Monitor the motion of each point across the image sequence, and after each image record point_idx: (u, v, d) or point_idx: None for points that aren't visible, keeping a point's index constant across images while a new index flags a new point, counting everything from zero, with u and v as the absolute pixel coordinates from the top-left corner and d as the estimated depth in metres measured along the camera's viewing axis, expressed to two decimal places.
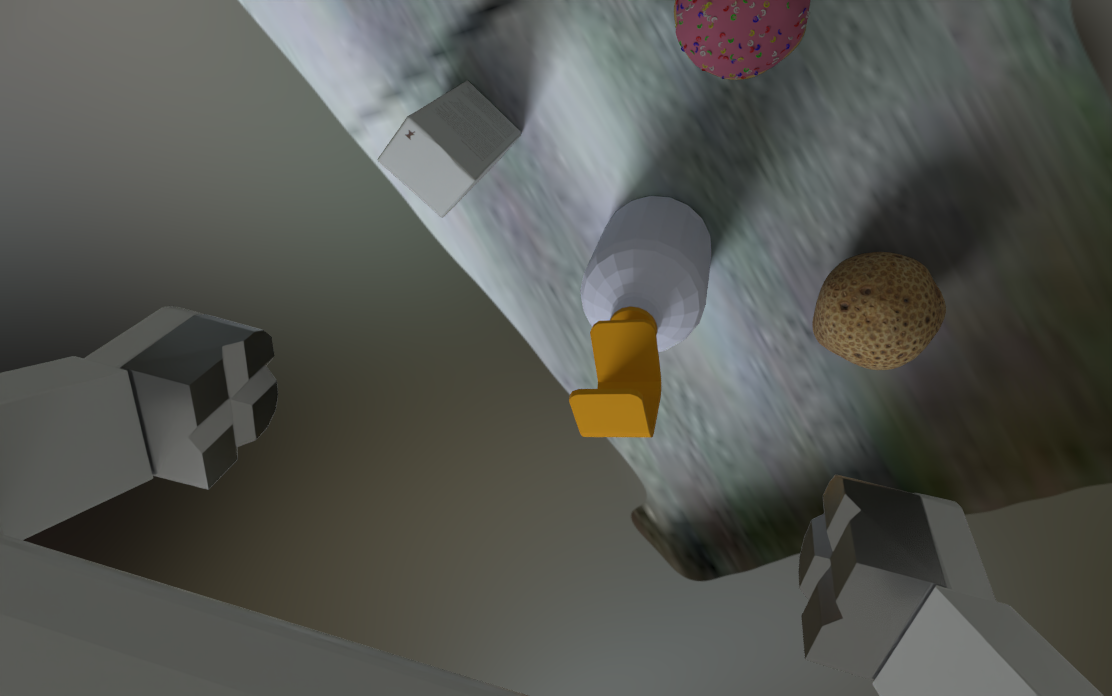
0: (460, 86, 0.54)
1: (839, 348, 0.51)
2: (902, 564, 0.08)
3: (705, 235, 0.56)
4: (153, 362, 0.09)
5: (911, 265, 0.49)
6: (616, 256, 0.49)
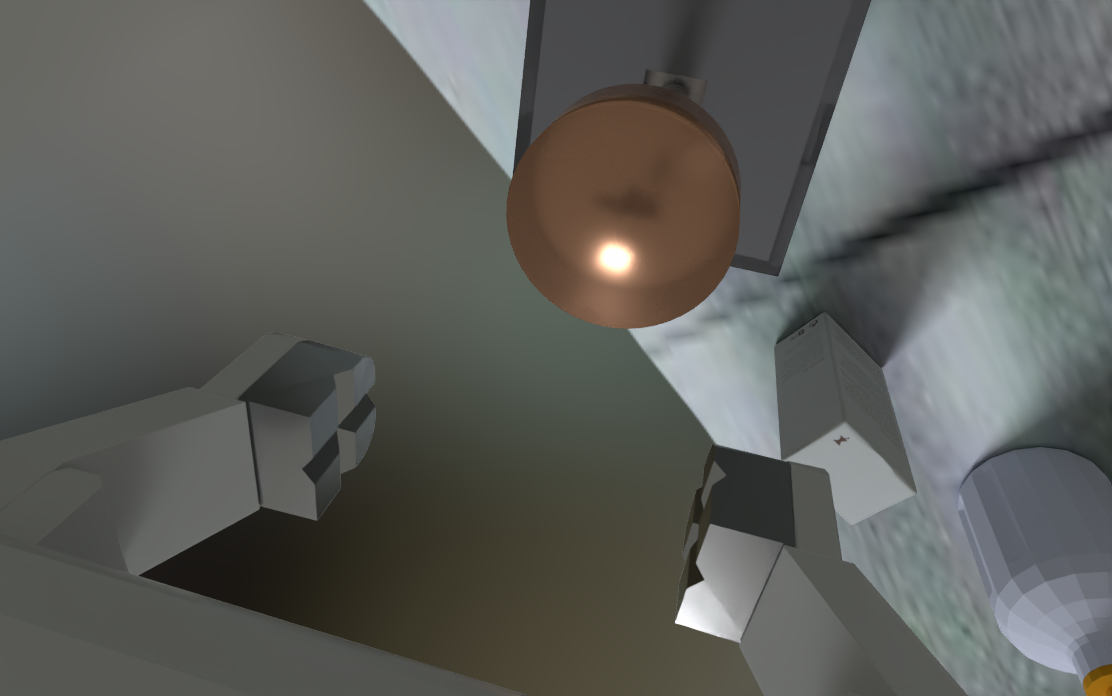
0: (829, 327, 0.43)
1: None
2: (756, 525, 0.08)
3: None
4: (269, 392, 0.09)
5: None
6: (1080, 577, 0.38)
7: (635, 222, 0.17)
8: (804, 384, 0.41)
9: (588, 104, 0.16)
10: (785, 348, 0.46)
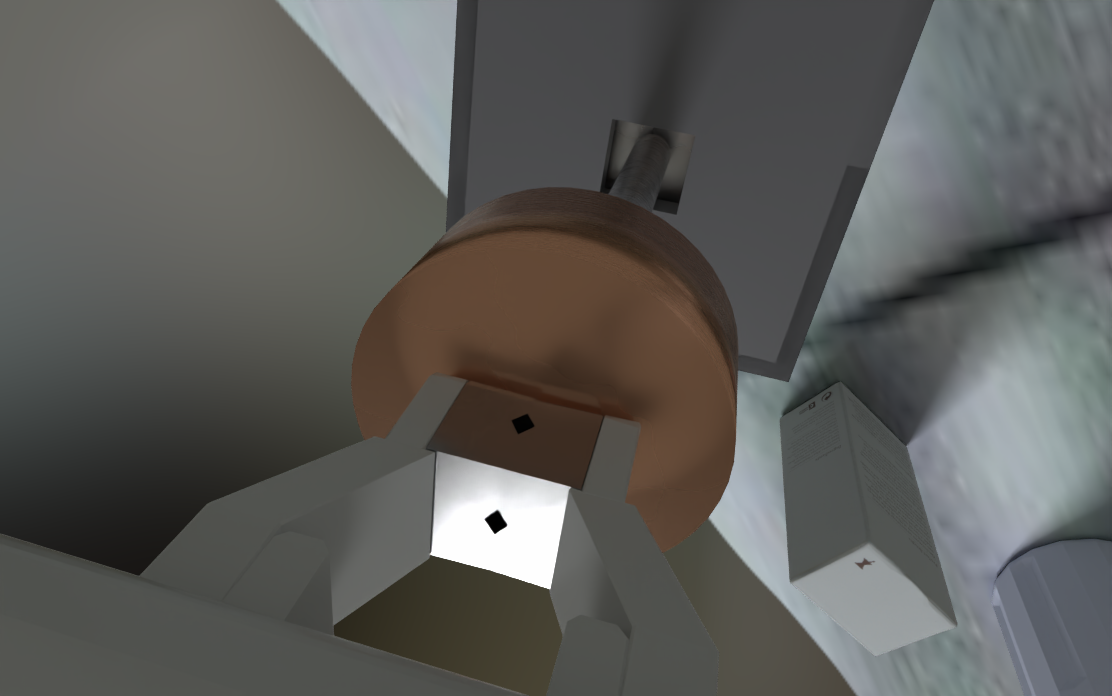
0: (846, 403, 0.36)
1: None
2: (548, 471, 0.08)
3: None
4: (454, 440, 0.08)
5: None
6: None
7: None
8: (817, 478, 0.34)
9: (474, 238, 0.09)
10: (792, 424, 0.39)
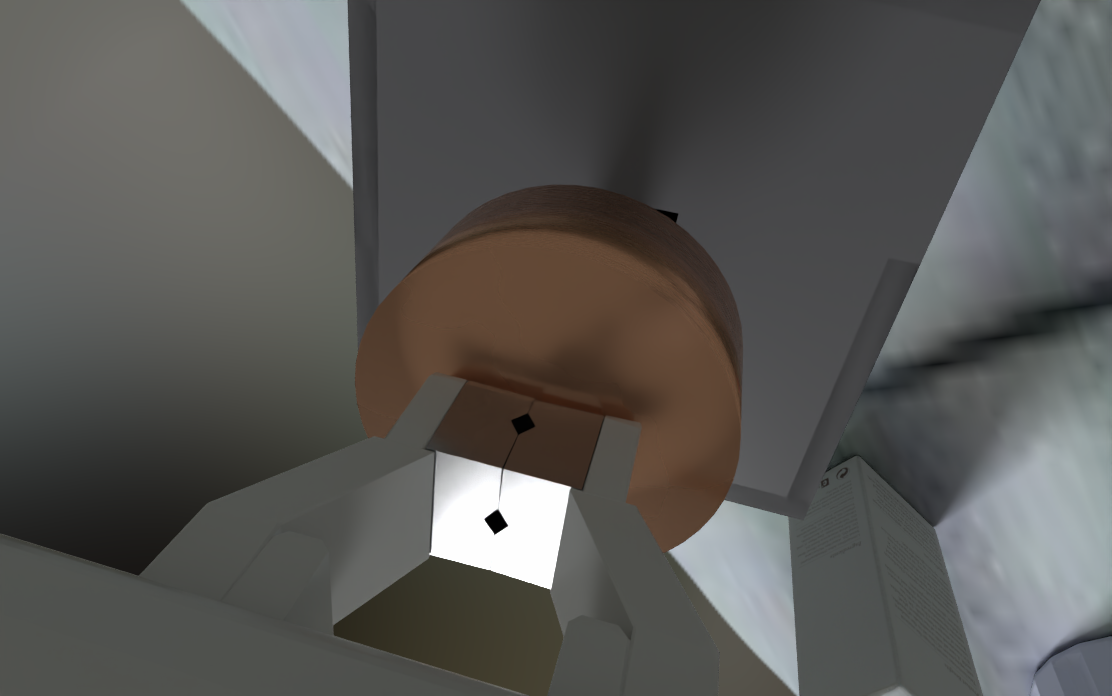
0: (865, 486, 0.31)
1: None
2: (549, 471, 0.08)
3: None
4: (454, 441, 0.08)
5: None
6: None
7: None
8: (833, 582, 0.28)
9: (478, 235, 0.09)
10: None
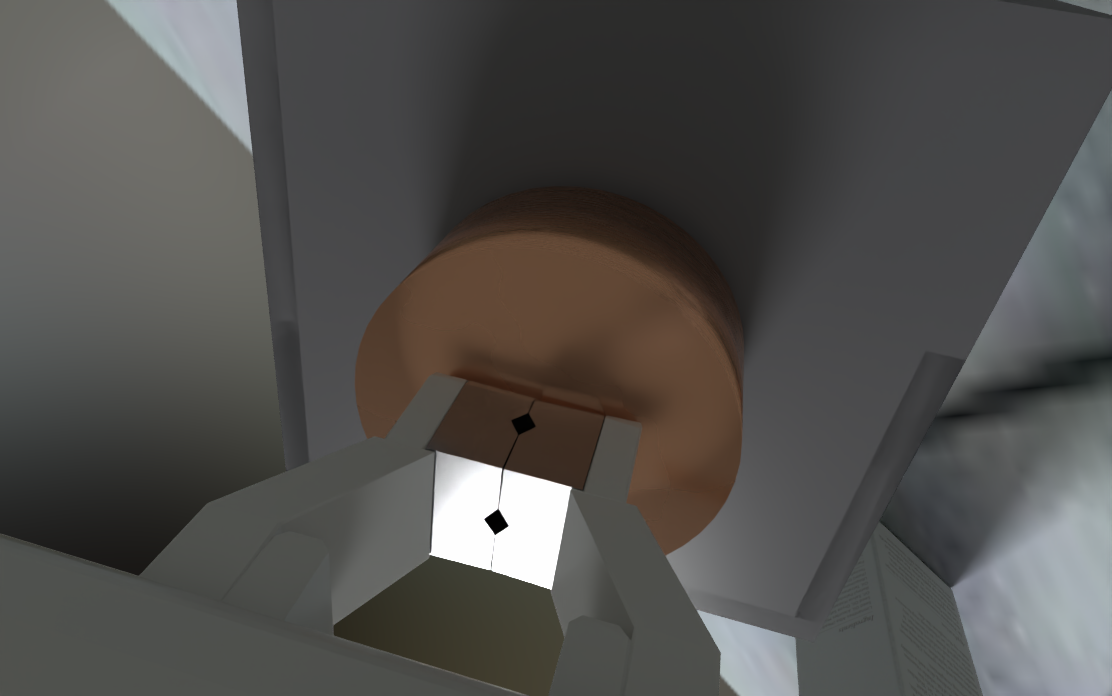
0: (877, 548, 0.28)
1: None
2: (550, 471, 0.08)
3: None
4: (454, 441, 0.08)
5: None
6: None
7: None
8: (842, 662, 0.25)
9: (478, 237, 0.09)
10: None
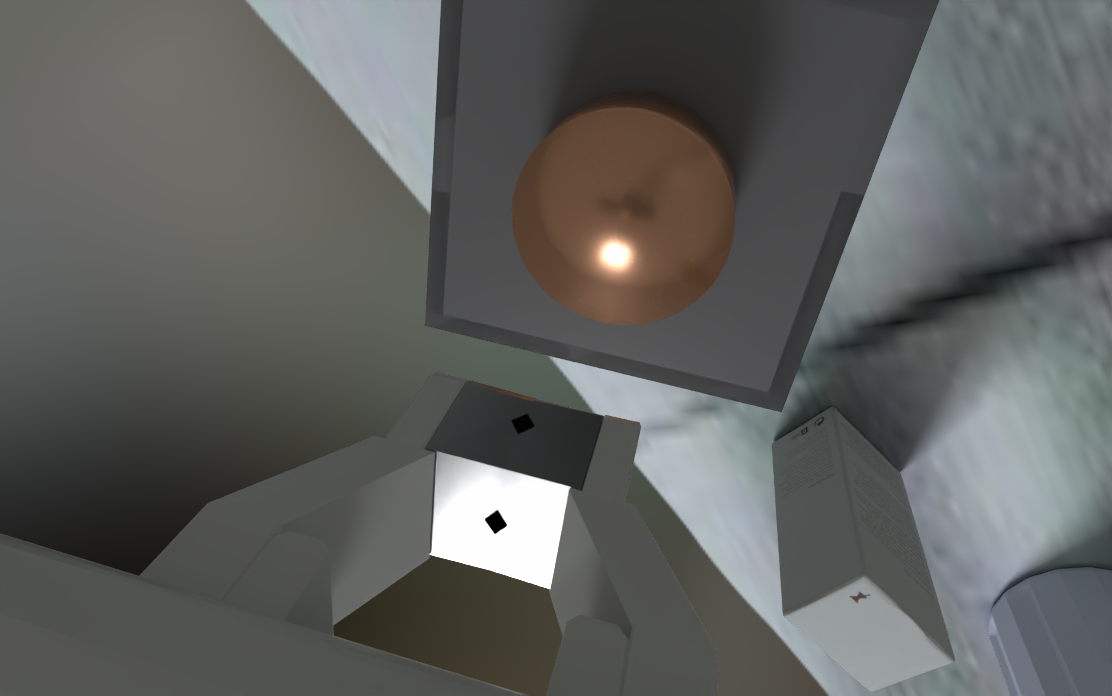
0: (839, 429, 0.36)
1: None
2: (548, 470, 0.08)
3: None
4: (454, 440, 0.08)
5: None
6: None
7: (635, 222, 0.18)
8: (810, 507, 0.33)
9: (591, 110, 0.17)
10: (785, 450, 0.38)
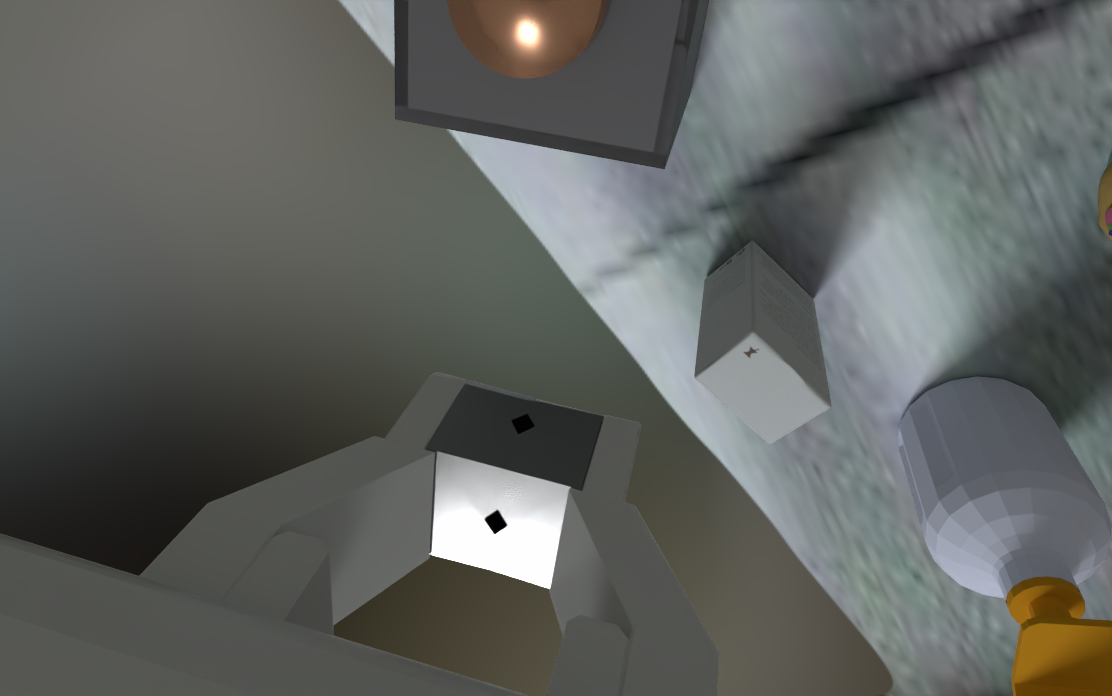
0: (754, 253, 0.43)
1: None
2: (548, 470, 0.08)
3: None
4: (454, 441, 0.08)
5: None
6: (1004, 494, 0.37)
7: None
8: (724, 306, 0.40)
9: None
10: (713, 279, 0.45)
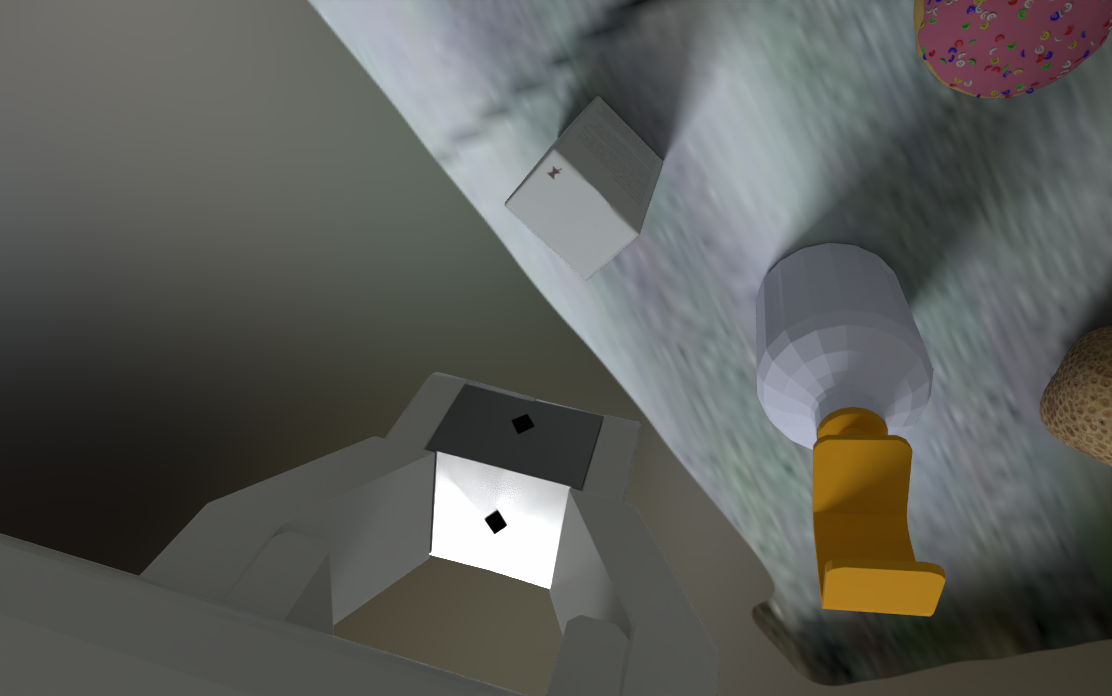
0: (593, 103, 0.42)
1: (1103, 451, 0.39)
2: (548, 471, 0.08)
3: None
4: (454, 440, 0.08)
5: None
6: (821, 333, 0.37)
7: None
8: (551, 147, 0.39)
9: None
10: None
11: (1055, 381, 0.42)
